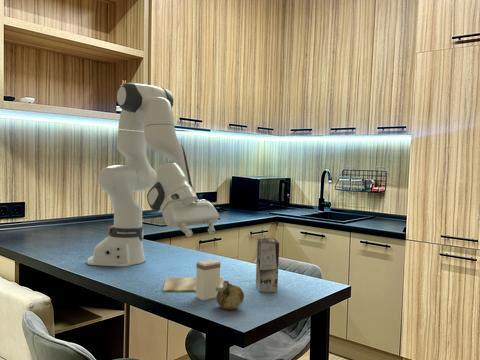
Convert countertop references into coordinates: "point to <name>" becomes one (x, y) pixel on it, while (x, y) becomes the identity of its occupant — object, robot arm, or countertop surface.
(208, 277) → the card box
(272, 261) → the coffee box
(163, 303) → the countertop surface
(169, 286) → the mat
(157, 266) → the countertop surface
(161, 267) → the countertop surface
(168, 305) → the countertop surface
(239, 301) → the onion
